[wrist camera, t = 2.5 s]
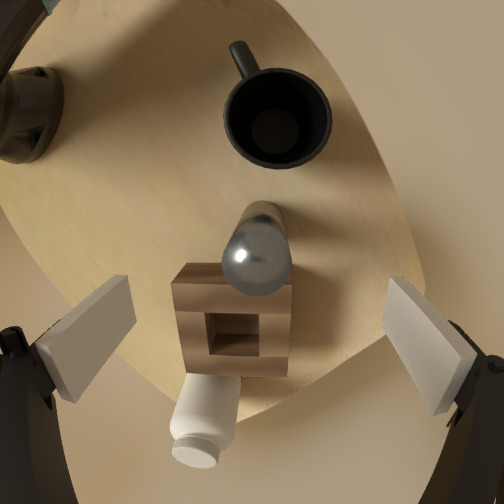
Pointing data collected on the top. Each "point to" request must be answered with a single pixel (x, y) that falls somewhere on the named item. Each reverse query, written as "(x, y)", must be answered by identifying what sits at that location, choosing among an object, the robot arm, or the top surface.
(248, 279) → the peg
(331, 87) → the top surface
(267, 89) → the mug
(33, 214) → the top surface
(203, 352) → the socket block
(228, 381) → the pill bottle
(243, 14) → the top surface
